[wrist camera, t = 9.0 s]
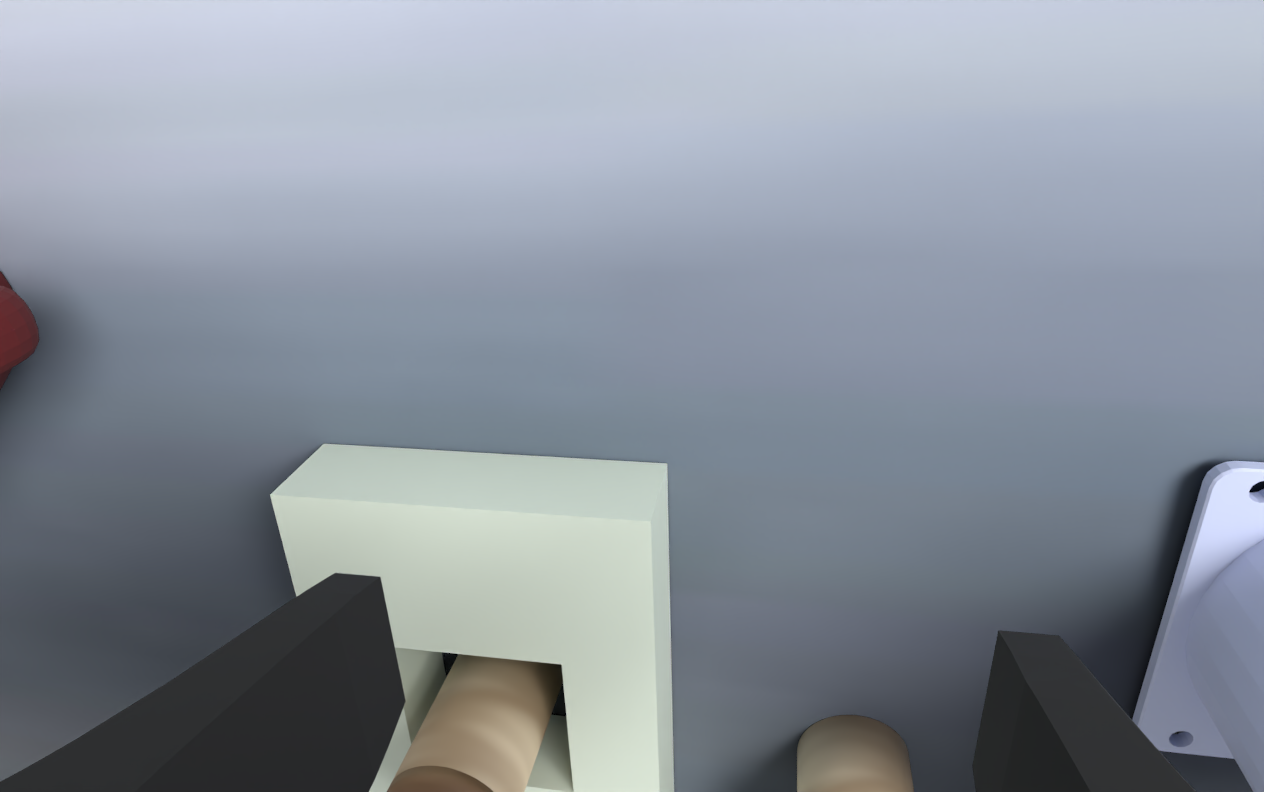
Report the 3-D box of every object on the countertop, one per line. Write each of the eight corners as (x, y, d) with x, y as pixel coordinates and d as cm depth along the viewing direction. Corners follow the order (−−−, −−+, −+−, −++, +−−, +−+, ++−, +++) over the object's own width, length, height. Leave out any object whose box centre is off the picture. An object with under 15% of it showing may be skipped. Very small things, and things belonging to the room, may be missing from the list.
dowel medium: (572, 635, 23) (510, 807, 18) (558, 711, 25) (496, 890, 20) (468, 607, 23) (380, 769, 19) (460, 684, 25) (376, 854, 20)
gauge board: (667, 463, 20) (651, 521, 18) (674, 831, 26) (662, 910, 24) (324, 443, 22) (269, 495, 20) (401, 794, 27) (365, 865, 25)
